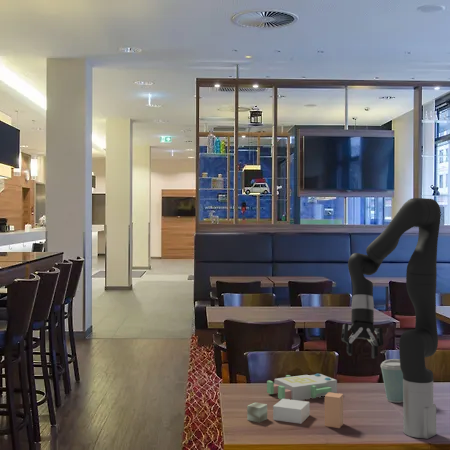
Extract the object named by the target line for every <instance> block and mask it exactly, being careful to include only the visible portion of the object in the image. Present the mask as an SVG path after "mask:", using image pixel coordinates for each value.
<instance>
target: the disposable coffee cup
mask: <svg viewBox="0 0 450 450" xmlns="http://www.w3.org/2000/svg"><path fill="white" fill-rule="evenodd" d="M380 369H381V374H382V380H383V386H384V390H385V391H384V392H385V396H386V399H387V401H388V402H390V403H393V404H394V403H396V404H397V403H399V404H400V403H403V373H402V371H401V367H400V358H392V359H390V358H389V359H385V360H384V361H382V362H381V363H380Z"/></svg>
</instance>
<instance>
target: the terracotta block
mask: <svg viewBox="0 0 450 450" xmlns="http://www.w3.org/2000/svg"><path fill="white" fill-rule="evenodd" d="M343 425H344V394H343V393H340V392H339V393H338V392H337V393H331V392H328V393H327V394H326V395H325V397H324V427H328V428H336V429H341V427H342V426H343Z"/></svg>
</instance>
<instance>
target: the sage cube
mask: <svg viewBox="0 0 450 450" xmlns="http://www.w3.org/2000/svg"><path fill="white" fill-rule="evenodd" d="M246 408H247V409H246V410H247V412H246V414H247V416H246V418H247V421H249V422H255V423H263V422H264V421H266V420H268V404H267V403H261V402H253V403H251V404H248V405H247V407H246Z"/></svg>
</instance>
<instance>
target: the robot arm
mask: <svg viewBox="0 0 450 450" xmlns="http://www.w3.org/2000/svg"><path fill="white" fill-rule="evenodd" d="M441 211H442V210H441V207H440V205H439V203H438V201H436V200H435V199H432V198H421V197H413V198H409V199H408V200H406V202H405V203H404V204H403V205H402V206H401V207H400V208H399V210H398V211H397V213H396V214H395V215H394V217H393V218H392V219H391V221H390V222H389V224H388V225H387V226H386V228H384V230H383V231H382V232H381V233H380V234H379V235H378V236H377V237H376V238H375V239H374V240H373V241H372V242H371V243H370V244H369V245H368V246H367V247H366V252H365V253H366V254H364V253H359V252H354V253H352V254H351V255H350V256H349V257H348V261H347V268H348V273H349V276H350V281H351V285H352V296H351V297H352V299H351V308H350V309H351V316H350V317H351V323H350V324H349V323H344V324H342V327H341V328H342V329H341V342H343V343H345V344H346V354H347V355H348V356H353V353H354V352H353V349H354V348H353V347H354V346H353V345H354V344H353V342H354V341H355V340H356V339H362V340H367V341H368V343H370V345H371V359H376V358H377V357H378V354H379V353H378V351H379V350H378V349H379V347H380V346H383V345H384V334H383V332H384V331H383V328H382V327H379V328H378V327H375V326H374V319H375V317H374V313H375V312H374V309H375V308H374V307H375V304H374V302H375V301H374V285H373V282H372V281H371V280H369V279H368V278H366V277H365V275H366V276H371V275H372V276H373V275H374V274H376V273H377V271H378V270H379V269H380V266H381V265H382V264H383V262H384V259H386V258H387V257H388V256H389V255H390V254H392V252H394V251H395V249H396V248H397V246H398V245H399V243H400V238H401V236H402V235H403V234H405V232H407V231H409V230H411V229H412V228H418V238H417V242H416V246H415V247H414V248H415V249H414V250H413V252H412V254H411V256H410V257H409V261H408V263H407V266H406V271H405V272H406V275H405V277H406V279H405V284H406V286H405V287H406V291H407V294H408V297H409V299H410V301H411V303H412V306H413V308H414V313H415V326H414V329H409V330H405V331H403V333H402V334H401V336H400V338H399V344H398V350H399V351H398V352H399V359H400V367H401V371H402V373H403V402H402V409H403V411H402V412H403V413H402V415H403V416H402V419H403V421H402V423H403V425H402V426H403V433H404V434H405V435H407V436H408V437H412V438H418V439H426V440H428V439H430V438H432V437H434V436H436V435H437V404H436V403H434V373H433V370H431V369H429V368H427V366H426V359H425V358H429V357H431V356H434V354H435V353H436V351H437V349H438V346H439V335H438V334H439V333H438V324H437V310H436V309H437V275H438V274H437V273H438V271H437V261H438V260H437V257H438V244H439V243H438V242H439V241H438V240H439V233H440V225H441V224H440V223H441V213H442V212H441ZM350 330H351V332H352V333H351V334H350V336H349V331H350ZM373 333H374V334H375V335H376V337H375V335H374V334H373ZM348 336H349V338H348Z"/></svg>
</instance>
